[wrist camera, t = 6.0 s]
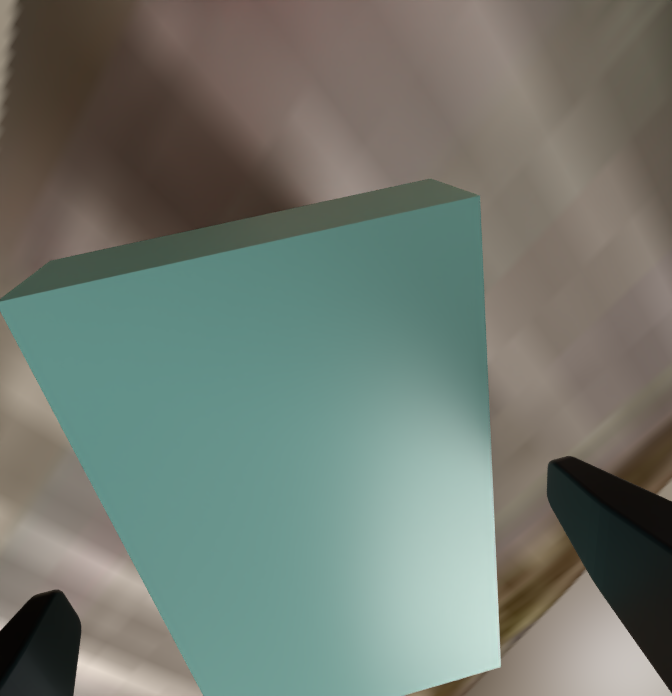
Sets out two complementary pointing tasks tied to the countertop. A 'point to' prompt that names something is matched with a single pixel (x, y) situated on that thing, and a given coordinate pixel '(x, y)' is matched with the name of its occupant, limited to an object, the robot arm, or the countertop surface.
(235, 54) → the countertop surface
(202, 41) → the countertop surface
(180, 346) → the lid
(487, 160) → the countertop surface
